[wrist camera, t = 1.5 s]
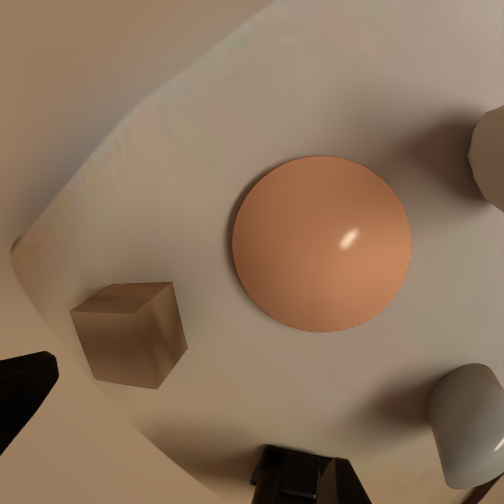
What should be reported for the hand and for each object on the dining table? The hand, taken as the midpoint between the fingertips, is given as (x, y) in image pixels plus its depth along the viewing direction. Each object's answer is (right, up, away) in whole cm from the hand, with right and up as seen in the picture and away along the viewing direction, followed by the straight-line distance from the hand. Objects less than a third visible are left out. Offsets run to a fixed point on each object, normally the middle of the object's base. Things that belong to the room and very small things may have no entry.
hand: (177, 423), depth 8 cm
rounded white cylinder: (+18, -6, +10) cm, 21 cm away
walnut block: (-5, 0, +14) cm, 15 cm away
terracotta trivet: (+6, +5, +10) cm, 13 cm away
